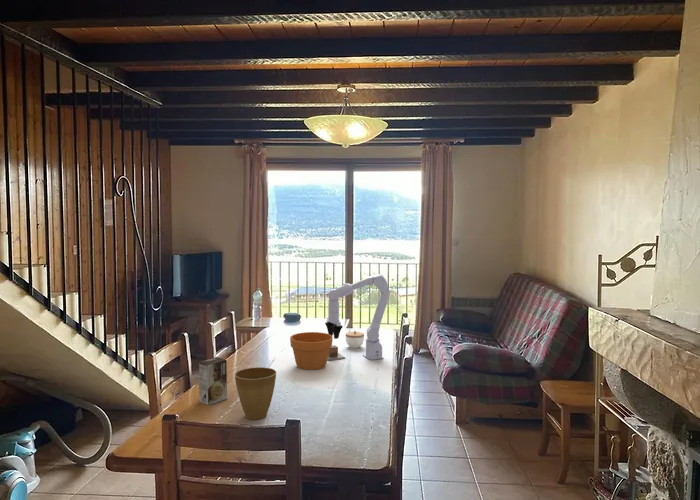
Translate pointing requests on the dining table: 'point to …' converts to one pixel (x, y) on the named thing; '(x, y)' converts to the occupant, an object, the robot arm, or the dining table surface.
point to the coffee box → (212, 380)
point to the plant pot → (255, 390)
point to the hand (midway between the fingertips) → (333, 337)
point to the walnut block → (333, 351)
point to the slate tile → (336, 357)
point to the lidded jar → (354, 339)
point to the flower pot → (311, 349)
